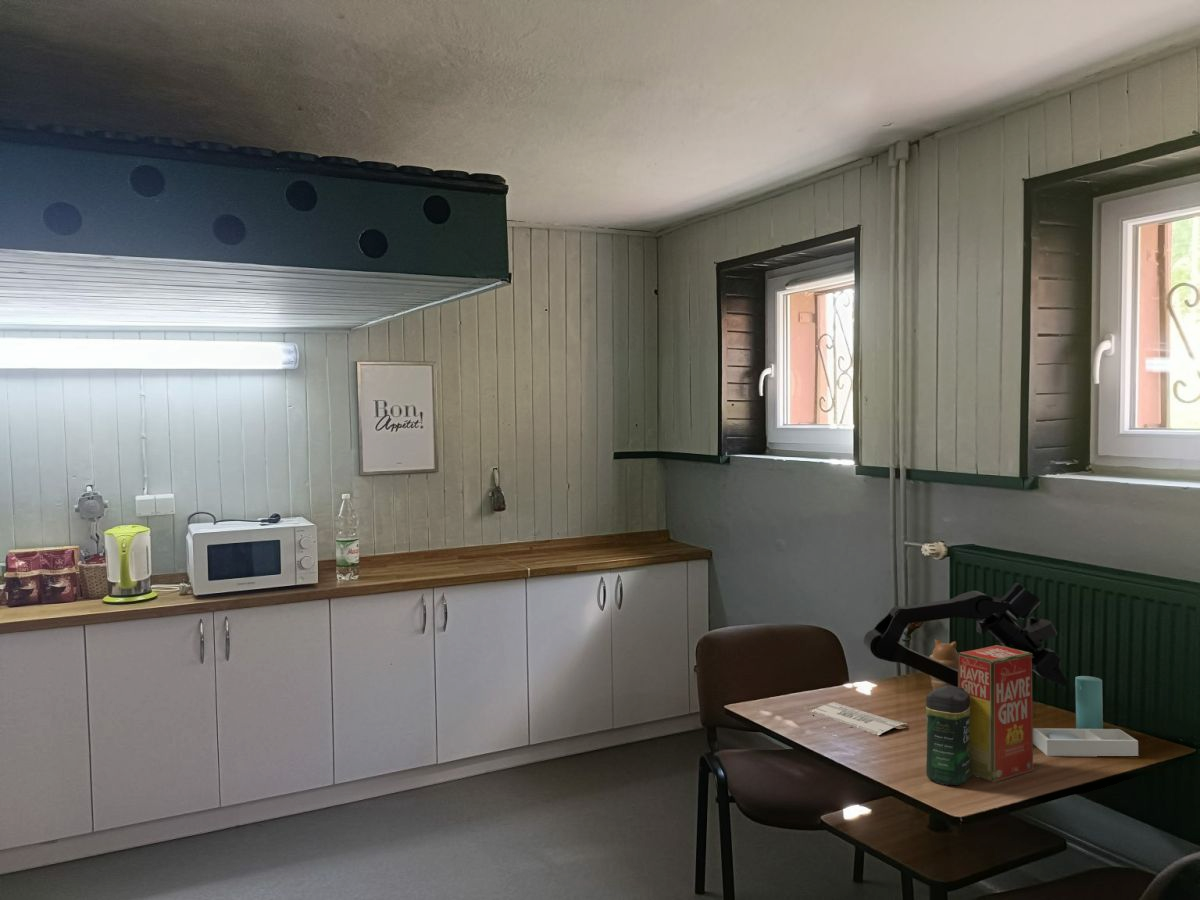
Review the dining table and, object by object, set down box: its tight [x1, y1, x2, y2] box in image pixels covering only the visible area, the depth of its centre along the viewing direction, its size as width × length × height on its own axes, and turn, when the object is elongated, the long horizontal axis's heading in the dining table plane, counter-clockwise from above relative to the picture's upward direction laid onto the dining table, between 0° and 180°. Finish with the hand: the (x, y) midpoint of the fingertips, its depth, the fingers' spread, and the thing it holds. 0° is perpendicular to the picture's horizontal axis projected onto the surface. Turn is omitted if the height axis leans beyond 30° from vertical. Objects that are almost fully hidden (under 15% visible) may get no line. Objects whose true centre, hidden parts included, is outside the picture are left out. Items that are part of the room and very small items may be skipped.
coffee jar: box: [925, 685, 972, 786], centre depth 181 cm, size 10×8×19 cm
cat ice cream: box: [928, 639, 959, 690], centre depth 226 cm, size 9×8×18 cm
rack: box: [1033, 727, 1139, 757], centre depth 195 cm, size 19×8×4 cm, turn 85°
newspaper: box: [811, 701, 908, 735], centre depth 220 cm, size 23×12×2 cm, turn 34°
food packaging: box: [957, 644, 1034, 783], centre depth 185 cm, size 13×9×25 cm
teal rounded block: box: [1074, 675, 1104, 729], centre depth 206 cm, size 6×6×13 cm
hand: (1057, 679), depth 206 cm, fingers open, 9 cm apart
